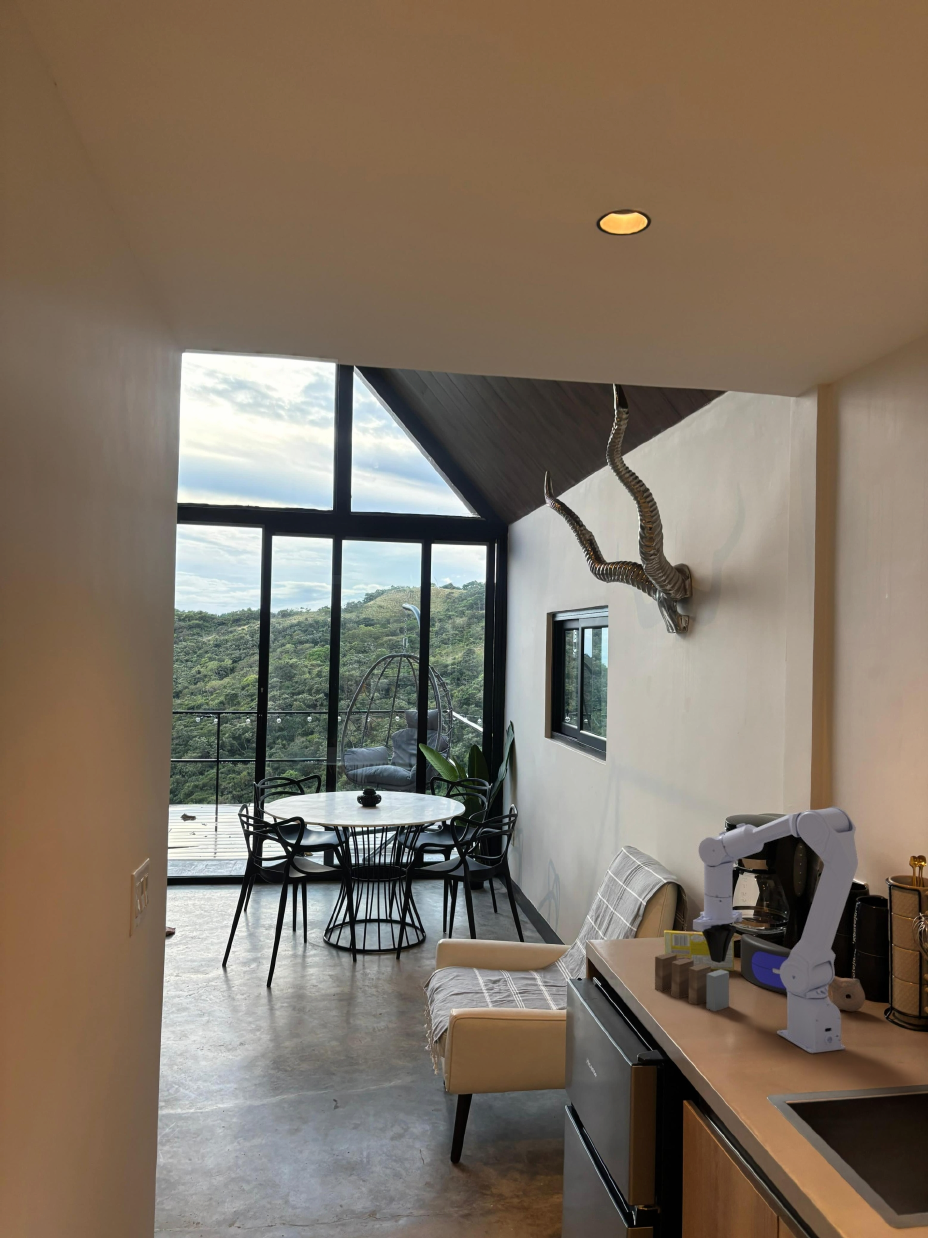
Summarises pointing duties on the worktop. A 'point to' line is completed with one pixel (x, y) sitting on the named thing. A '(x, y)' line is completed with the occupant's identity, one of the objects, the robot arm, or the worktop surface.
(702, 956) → the candy box
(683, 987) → the domino
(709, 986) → the slate domino
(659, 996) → the worktop surface
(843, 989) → the oil lamp
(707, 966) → the domino
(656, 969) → the domino
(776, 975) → the dark grey curved shell
